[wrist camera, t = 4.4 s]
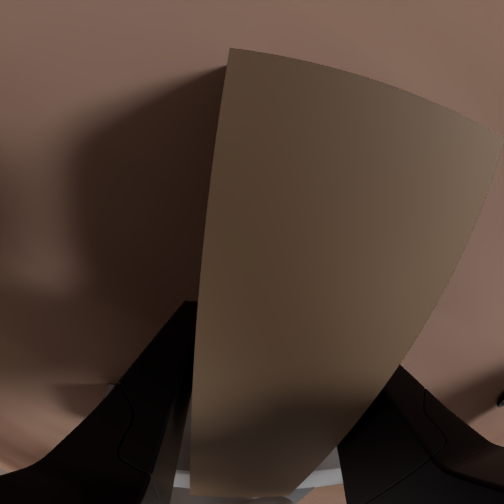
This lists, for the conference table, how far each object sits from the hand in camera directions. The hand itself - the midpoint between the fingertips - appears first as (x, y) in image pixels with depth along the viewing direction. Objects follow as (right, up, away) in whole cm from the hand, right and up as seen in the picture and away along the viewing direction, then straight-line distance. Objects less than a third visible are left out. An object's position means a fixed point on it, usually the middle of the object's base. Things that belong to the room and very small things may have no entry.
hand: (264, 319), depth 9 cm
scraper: (0, 0, +2) cm, 2 cm away
